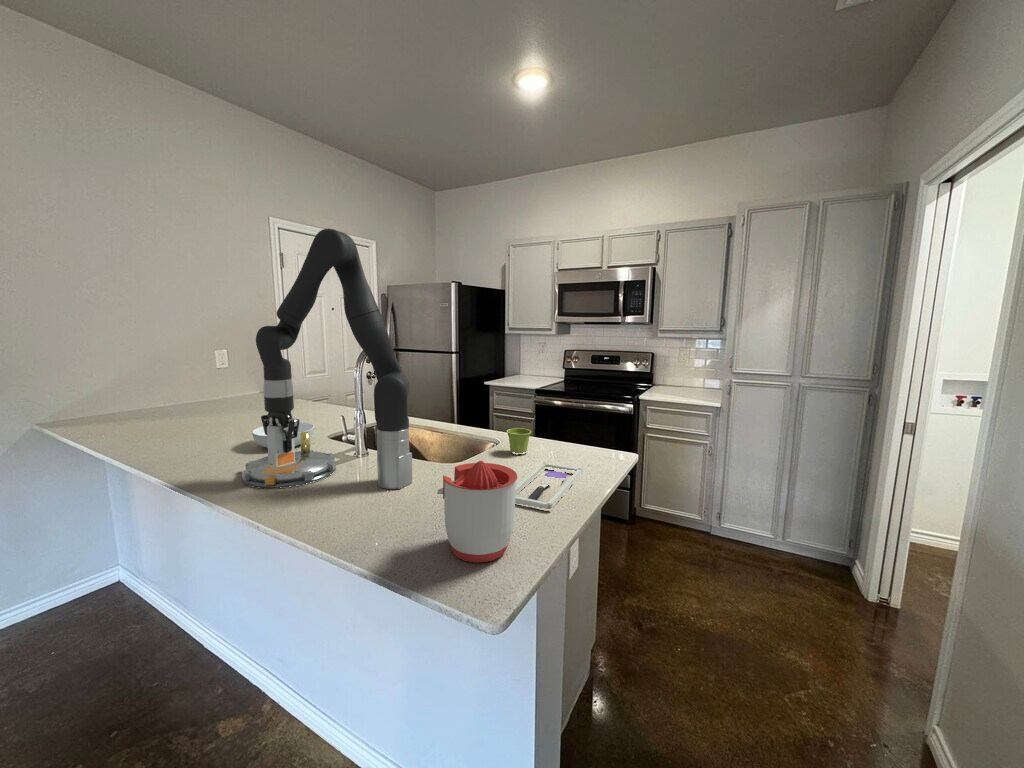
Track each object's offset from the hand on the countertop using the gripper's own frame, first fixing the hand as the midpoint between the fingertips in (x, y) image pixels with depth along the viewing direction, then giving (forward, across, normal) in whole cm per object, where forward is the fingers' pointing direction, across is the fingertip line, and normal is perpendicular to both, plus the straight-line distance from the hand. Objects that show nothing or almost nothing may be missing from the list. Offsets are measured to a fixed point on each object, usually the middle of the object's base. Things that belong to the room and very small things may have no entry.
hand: (281, 450), depth 125 cm
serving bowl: (+10, +31, -25) cm, 41 cm away
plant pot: (+9, -52, -60) cm, 79 cm away
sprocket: (+8, +3, -6) cm, 10 cm away
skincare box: (+5, 0, 0) cm, 5 cm away
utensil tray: (+9, -73, -32) cm, 80 cm away
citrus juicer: (+10, -71, +8) cm, 72 cm away
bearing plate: (+9, +3, -6) cm, 11 cm away
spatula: (+10, -73, -30) cm, 79 cm away
